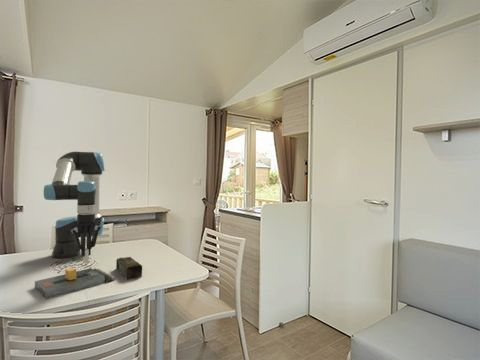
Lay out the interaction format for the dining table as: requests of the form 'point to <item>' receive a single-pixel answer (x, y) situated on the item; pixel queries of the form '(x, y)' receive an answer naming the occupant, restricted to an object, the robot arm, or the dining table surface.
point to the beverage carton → (129, 267)
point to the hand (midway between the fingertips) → (85, 262)
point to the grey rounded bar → (107, 276)
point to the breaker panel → (68, 283)
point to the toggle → (70, 273)
